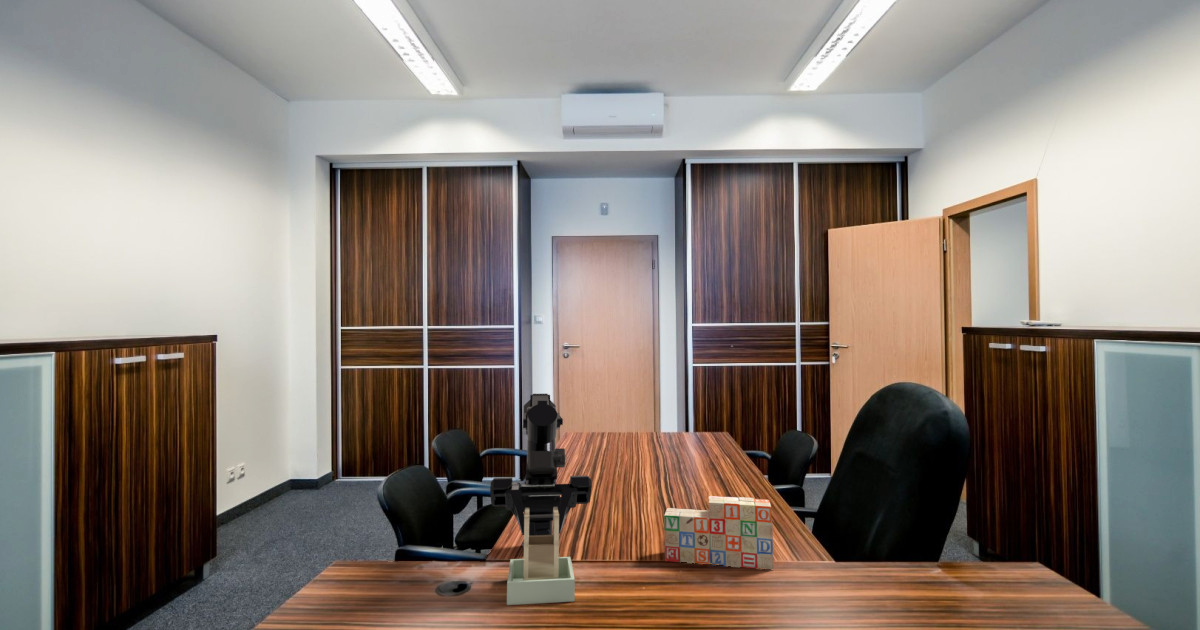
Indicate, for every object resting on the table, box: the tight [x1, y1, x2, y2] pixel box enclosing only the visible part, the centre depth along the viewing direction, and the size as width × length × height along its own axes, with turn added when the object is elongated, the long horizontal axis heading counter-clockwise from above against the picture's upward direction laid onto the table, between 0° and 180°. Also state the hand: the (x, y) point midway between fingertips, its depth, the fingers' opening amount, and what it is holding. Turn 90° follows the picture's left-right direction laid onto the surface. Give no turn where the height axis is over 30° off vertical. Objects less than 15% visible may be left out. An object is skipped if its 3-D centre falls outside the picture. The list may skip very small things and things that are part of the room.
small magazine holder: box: [523, 507, 560, 580], centre depth 92 cm, size 6×6×11 cm
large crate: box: [506, 556, 576, 606], centre depth 92 cm, size 11×11×4 cm
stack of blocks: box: [663, 495, 774, 569], centre depth 107 cm, size 21×6×12 cm, turn 76°
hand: (541, 533), depth 91 cm, fingers closed on small magazine holder, 6 cm apart
